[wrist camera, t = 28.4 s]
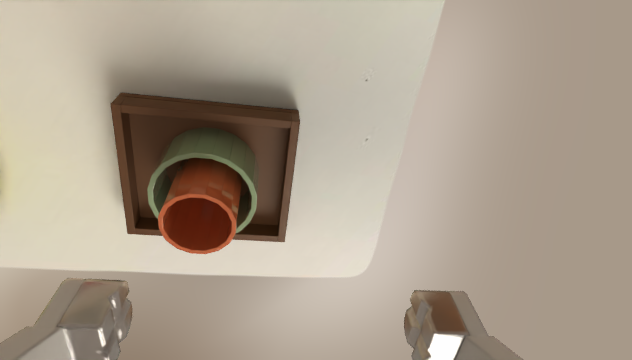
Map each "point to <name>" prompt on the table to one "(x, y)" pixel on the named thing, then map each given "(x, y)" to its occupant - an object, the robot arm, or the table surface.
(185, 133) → the sage cup
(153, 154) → the tray
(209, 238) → the terracotta cup
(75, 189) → the table surface
